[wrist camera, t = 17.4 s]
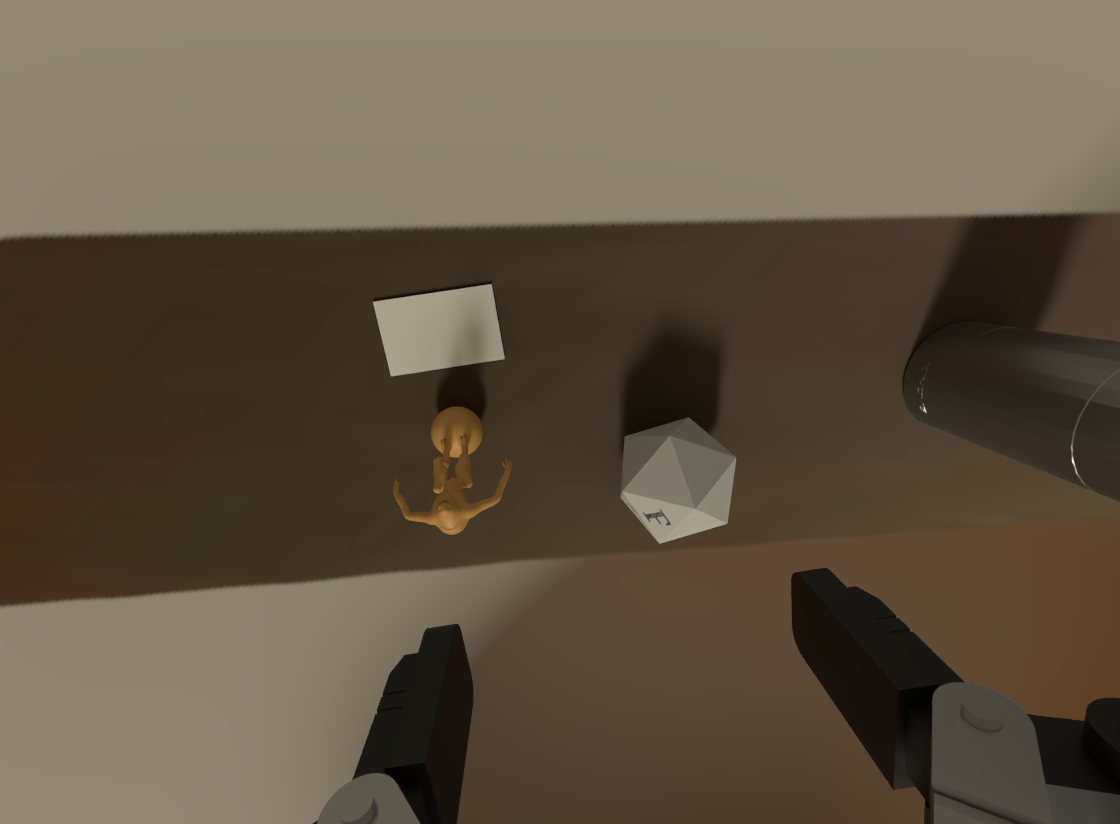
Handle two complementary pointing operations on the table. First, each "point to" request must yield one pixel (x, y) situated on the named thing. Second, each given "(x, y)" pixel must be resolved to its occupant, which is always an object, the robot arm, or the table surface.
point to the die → (677, 479)
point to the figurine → (455, 438)
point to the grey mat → (440, 330)
